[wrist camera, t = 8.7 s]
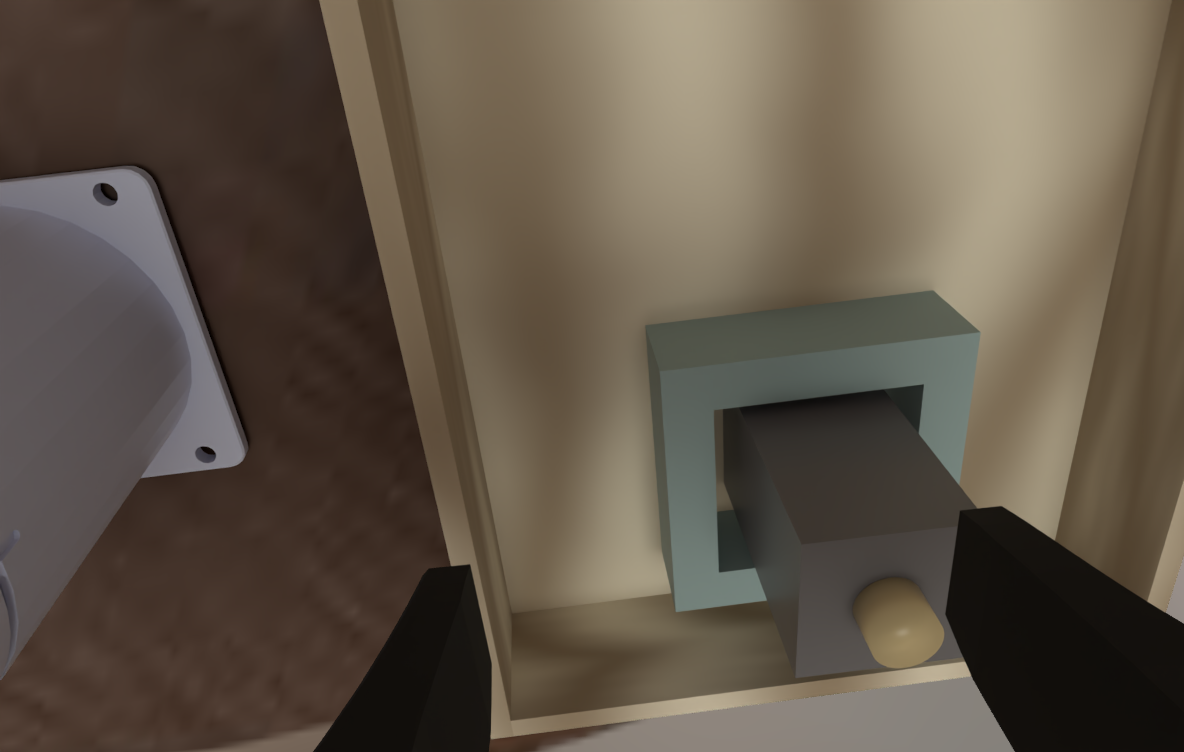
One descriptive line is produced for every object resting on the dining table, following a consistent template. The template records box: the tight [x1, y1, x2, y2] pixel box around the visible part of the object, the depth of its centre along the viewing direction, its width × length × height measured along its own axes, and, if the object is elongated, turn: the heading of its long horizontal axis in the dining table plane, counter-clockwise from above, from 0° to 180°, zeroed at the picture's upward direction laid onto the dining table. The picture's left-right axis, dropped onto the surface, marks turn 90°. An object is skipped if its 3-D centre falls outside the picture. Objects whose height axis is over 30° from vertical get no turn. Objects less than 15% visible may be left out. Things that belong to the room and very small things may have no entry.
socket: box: [645, 290, 981, 612], centre depth 22 cm, size 7×7×2 cm
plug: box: [723, 389, 978, 678], centre depth 19 cm, size 4×4×8 cm
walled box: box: [319, 0, 1184, 739], centre depth 20 cm, size 18×20×4 cm
